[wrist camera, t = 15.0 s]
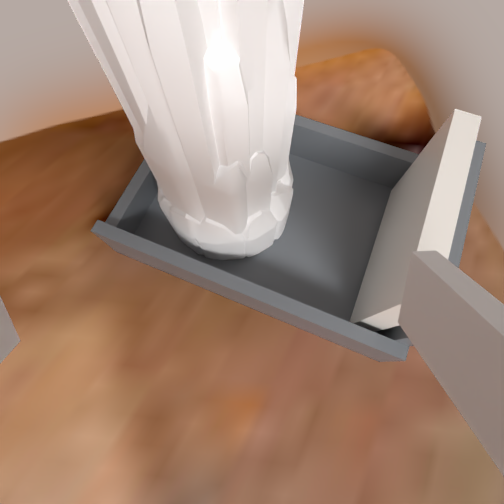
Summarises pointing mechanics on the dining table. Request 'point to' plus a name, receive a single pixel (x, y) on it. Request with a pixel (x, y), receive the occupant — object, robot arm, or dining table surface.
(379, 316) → the plate
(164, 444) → the dining table surface
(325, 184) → the grey tray
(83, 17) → the decorative vase
